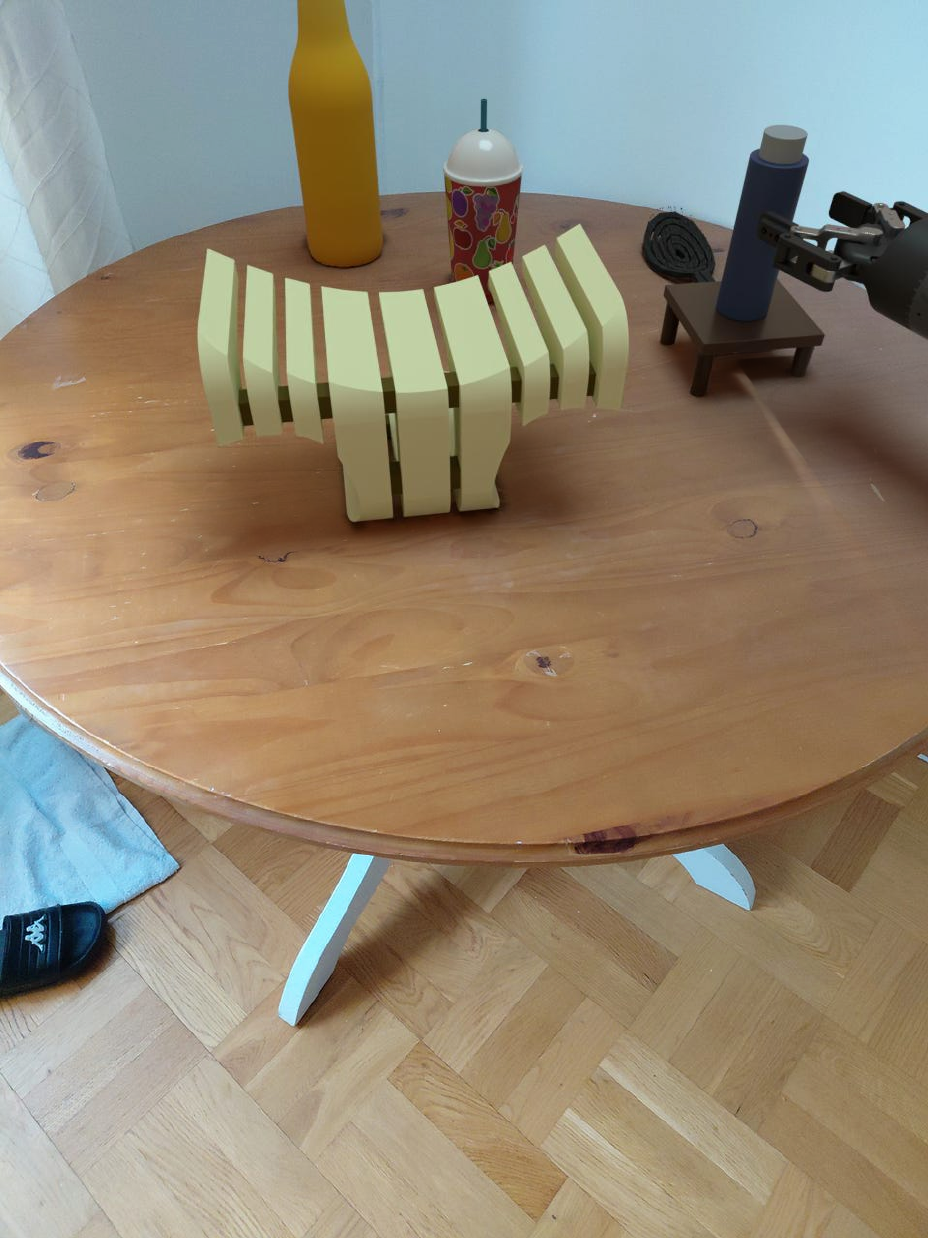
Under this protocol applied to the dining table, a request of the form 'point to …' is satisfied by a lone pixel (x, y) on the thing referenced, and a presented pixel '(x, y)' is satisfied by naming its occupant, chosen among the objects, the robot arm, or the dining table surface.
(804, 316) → the side table
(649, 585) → the dining table surface
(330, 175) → the beer bottle
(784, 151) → the thermos flask
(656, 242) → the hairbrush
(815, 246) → the robot arm
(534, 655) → the dining table surface
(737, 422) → the dining table surface
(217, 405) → the slatted curved stool
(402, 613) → the dining table surface
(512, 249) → the smoothie
